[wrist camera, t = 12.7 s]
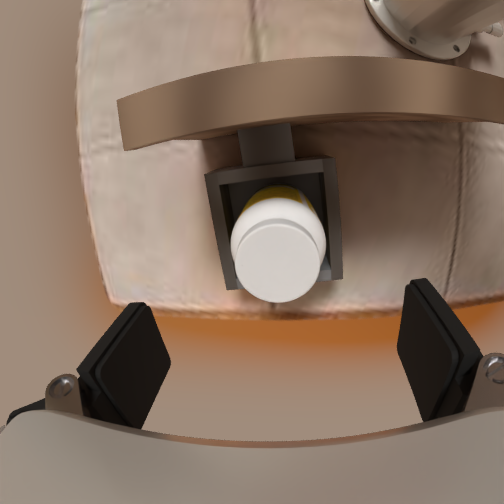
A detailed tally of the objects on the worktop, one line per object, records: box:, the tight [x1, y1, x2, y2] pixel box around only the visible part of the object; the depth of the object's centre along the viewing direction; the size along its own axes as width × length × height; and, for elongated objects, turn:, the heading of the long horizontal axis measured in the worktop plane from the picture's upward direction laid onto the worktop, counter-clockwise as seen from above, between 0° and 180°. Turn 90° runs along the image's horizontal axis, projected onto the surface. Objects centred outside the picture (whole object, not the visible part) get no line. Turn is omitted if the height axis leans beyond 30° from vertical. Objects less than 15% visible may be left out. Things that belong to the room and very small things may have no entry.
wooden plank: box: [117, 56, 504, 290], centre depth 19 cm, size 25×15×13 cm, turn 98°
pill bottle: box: [231, 183, 326, 303], centre depth 21 cm, size 6×6×11 cm
